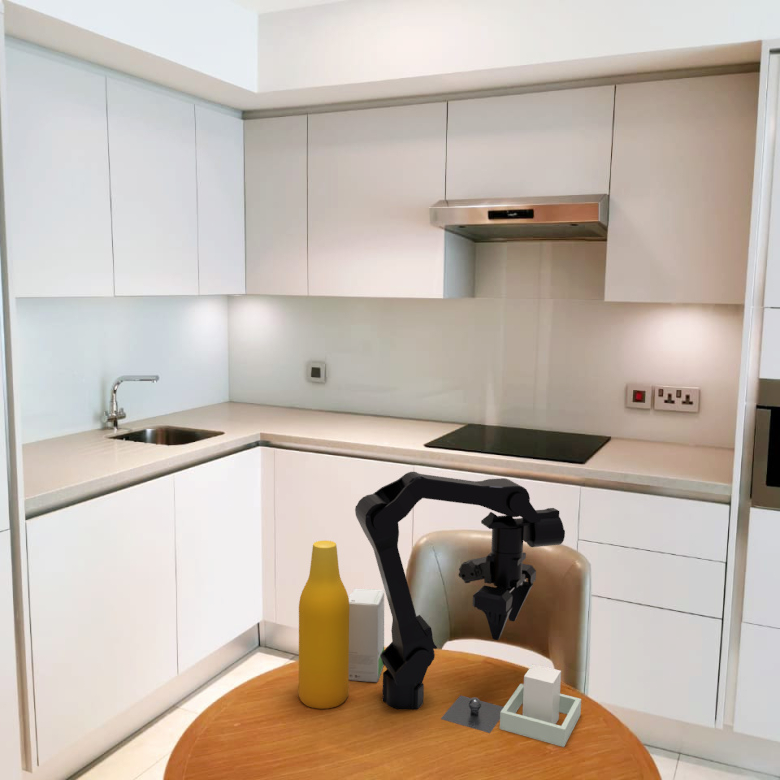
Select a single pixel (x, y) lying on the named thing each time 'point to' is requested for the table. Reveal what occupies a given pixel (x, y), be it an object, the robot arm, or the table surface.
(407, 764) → the table surface
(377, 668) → the skincare box
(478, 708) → the stud plate
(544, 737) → the bin
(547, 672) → the grey tall block
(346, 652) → the beer bottle
